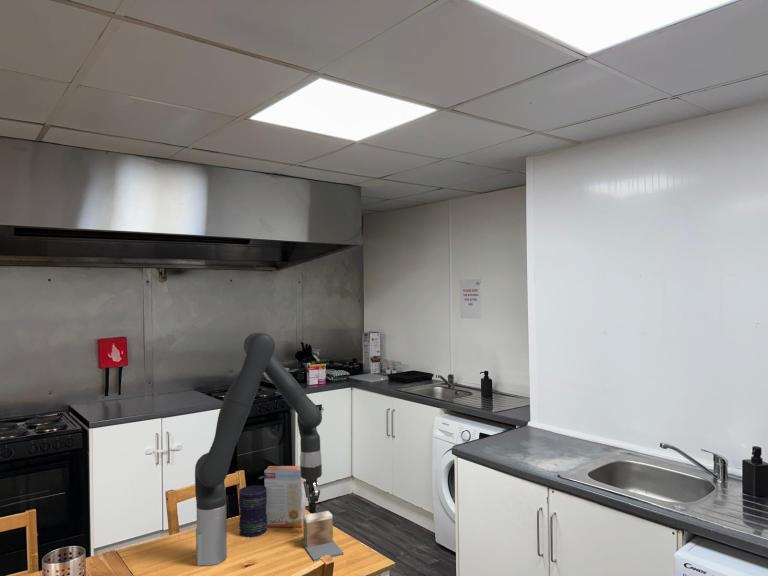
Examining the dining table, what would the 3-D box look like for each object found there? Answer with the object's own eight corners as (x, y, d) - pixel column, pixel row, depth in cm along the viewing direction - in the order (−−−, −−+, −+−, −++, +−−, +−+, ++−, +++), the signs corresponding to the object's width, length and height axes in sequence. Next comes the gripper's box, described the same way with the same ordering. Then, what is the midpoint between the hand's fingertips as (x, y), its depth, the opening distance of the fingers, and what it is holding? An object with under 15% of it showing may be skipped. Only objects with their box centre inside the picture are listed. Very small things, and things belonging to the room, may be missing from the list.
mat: (313, 561, 165) (313, 559, 165) (301, 543, 177) (301, 541, 177) (343, 554, 169) (343, 552, 169) (329, 537, 182) (329, 535, 182)
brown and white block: (307, 547, 173) (306, 520, 173) (303, 542, 177) (303, 515, 177) (332, 542, 177) (332, 515, 177) (328, 536, 181) (328, 510, 181)
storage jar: (239, 527, 191) (238, 486, 192) (266, 524, 194) (266, 483, 194) (239, 539, 182) (238, 496, 182) (267, 535, 184) (267, 492, 185)
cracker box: (305, 521, 196) (305, 465, 197) (301, 528, 190) (300, 470, 191) (269, 520, 197) (269, 464, 198) (264, 527, 191) (263, 469, 192)
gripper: (295, 459, 189) (296, 508, 188) (305, 469, 177) (307, 521, 176) (315, 456, 192) (316, 504, 192) (326, 466, 180) (328, 516, 180)
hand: (312, 512), depth 184 cm, fingers closed
